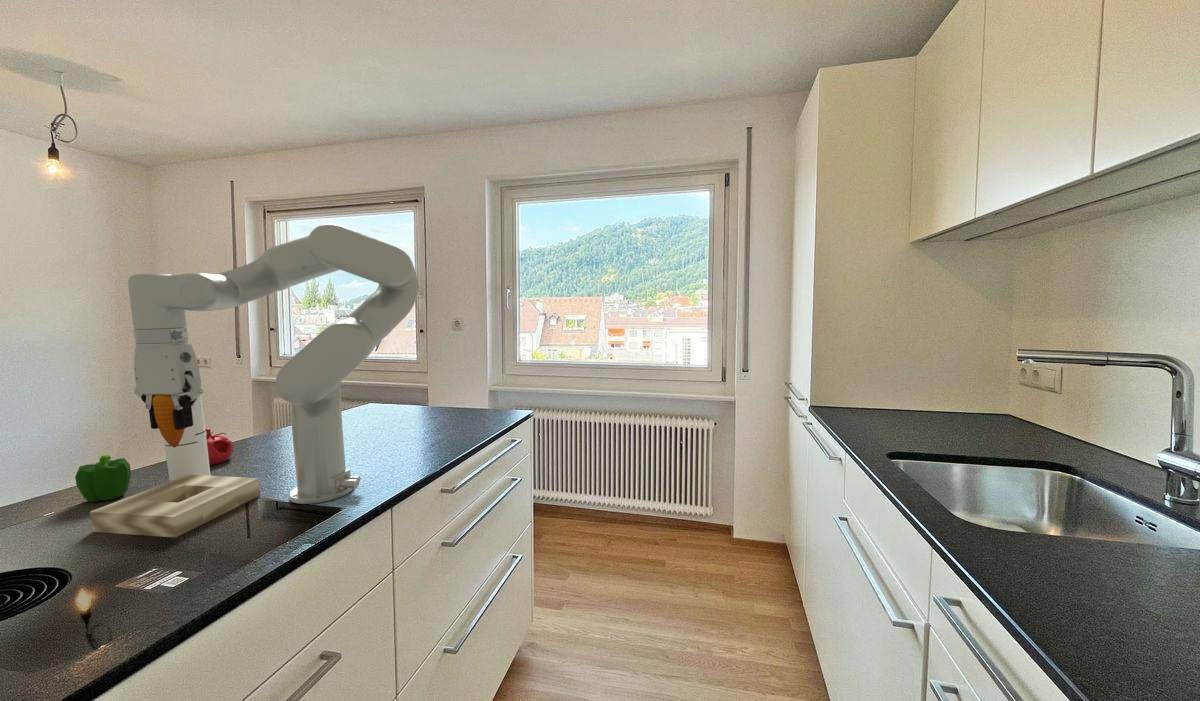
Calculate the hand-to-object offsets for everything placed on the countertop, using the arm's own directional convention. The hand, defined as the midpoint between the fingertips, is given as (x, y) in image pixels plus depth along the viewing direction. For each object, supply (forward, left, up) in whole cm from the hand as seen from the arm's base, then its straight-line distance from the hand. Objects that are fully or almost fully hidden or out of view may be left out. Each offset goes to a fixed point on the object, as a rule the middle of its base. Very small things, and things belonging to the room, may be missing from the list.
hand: (172, 426), depth 92 cm
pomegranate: (+22, -26, -18) cm, 39 cm away
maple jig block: (0, 0, -18) cm, 18 cm away
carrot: (0, 0, -5) cm, 5 cm away
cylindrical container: (+12, -12, -18) cm, 25 cm away
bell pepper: (+24, -4, -18) cm, 30 cm away
